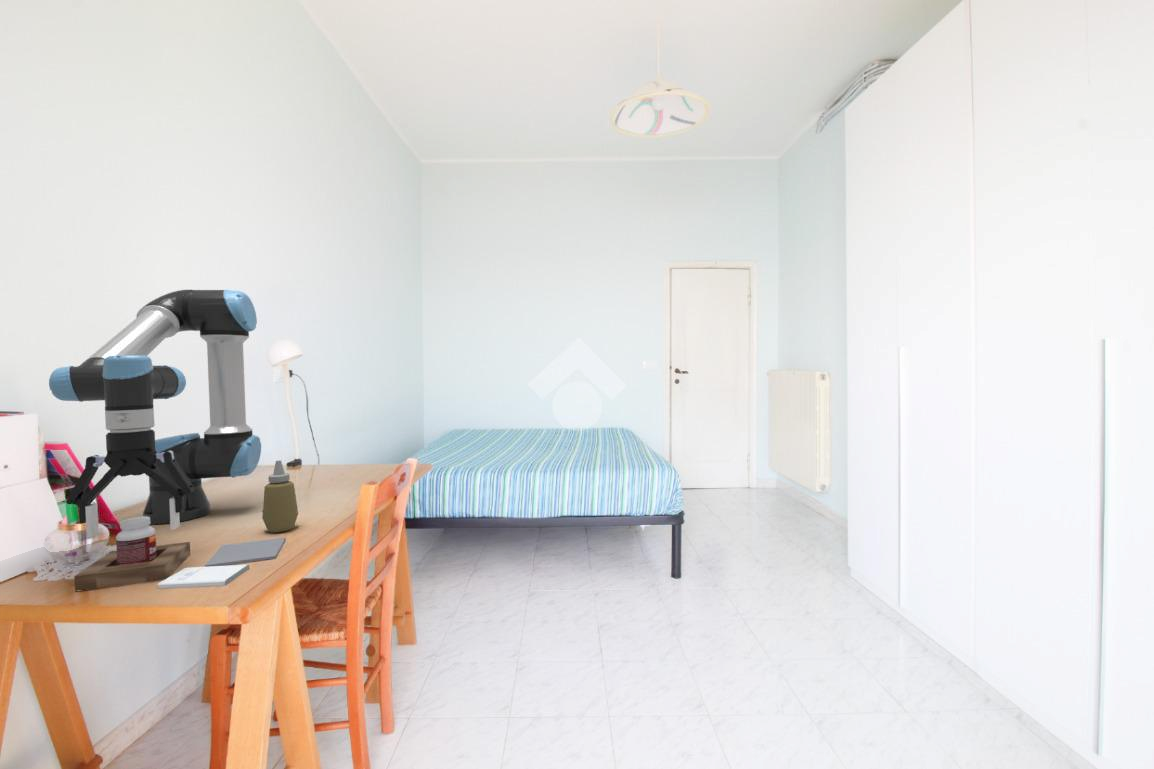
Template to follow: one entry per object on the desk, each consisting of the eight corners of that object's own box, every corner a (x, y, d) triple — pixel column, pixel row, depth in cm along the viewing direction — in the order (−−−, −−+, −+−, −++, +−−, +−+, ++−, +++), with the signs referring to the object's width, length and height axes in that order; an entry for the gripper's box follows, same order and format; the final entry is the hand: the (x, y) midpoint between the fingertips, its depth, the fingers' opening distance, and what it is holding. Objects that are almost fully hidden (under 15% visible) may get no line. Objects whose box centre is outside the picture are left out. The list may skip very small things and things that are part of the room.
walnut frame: (111, 564, 108) (111, 551, 108) (190, 554, 113) (189, 541, 113) (75, 591, 95) (74, 576, 95) (165, 579, 100) (165, 564, 100)
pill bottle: (158, 571, 104) (156, 519, 104) (118, 581, 100) (115, 526, 99) (155, 563, 109) (153, 513, 108) (117, 572, 104) (114, 519, 104)
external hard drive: (224, 588, 97) (157, 591, 96) (249, 571, 105) (187, 573, 104) (224, 580, 97) (156, 583, 96) (249, 563, 105) (187, 566, 104)
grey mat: (222, 547, 118) (222, 545, 118) (285, 539, 122) (285, 537, 122) (204, 568, 105) (204, 565, 105) (275, 558, 110) (275, 555, 110)
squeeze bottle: (306, 525, 133) (303, 458, 132) (280, 535, 125) (277, 464, 125) (281, 523, 135) (279, 457, 135) (255, 533, 127) (252, 463, 127)
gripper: (38, 436, 95) (44, 546, 95) (197, 428, 104) (201, 529, 105) (62, 431, 102) (66, 535, 102) (209, 425, 111) (212, 519, 112)
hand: (135, 532), depth 104 cm, fingers open, 13 cm apart
